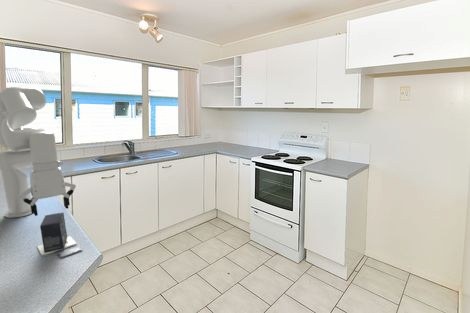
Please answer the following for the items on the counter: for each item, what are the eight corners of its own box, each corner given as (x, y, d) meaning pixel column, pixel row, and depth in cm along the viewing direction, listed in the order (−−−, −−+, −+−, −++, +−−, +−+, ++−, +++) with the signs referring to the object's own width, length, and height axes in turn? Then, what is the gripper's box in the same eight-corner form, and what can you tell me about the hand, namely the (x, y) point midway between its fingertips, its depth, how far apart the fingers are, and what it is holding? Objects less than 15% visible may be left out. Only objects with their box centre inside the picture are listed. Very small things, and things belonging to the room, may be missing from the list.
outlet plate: (37, 247, 103) (37, 245, 103) (70, 237, 110) (70, 236, 110) (41, 255, 97) (41, 254, 97) (76, 244, 105) (76, 243, 105)
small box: (48, 239, 107) (44, 214, 105) (67, 236, 110) (64, 211, 108) (43, 253, 98) (38, 225, 96) (64, 248, 100) (60, 222, 98)
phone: (57, 256, 98) (57, 254, 97) (79, 249, 103) (78, 246, 102) (61, 260, 95) (60, 257, 95) (82, 252, 100) (82, 249, 100)
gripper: (70, 160, 106) (74, 202, 110) (13, 168, 95) (20, 214, 98) (75, 164, 101) (80, 207, 105) (16, 172, 89) (24, 221, 93)
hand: (51, 210), depth 101 cm, fingers open, 9 cm apart
